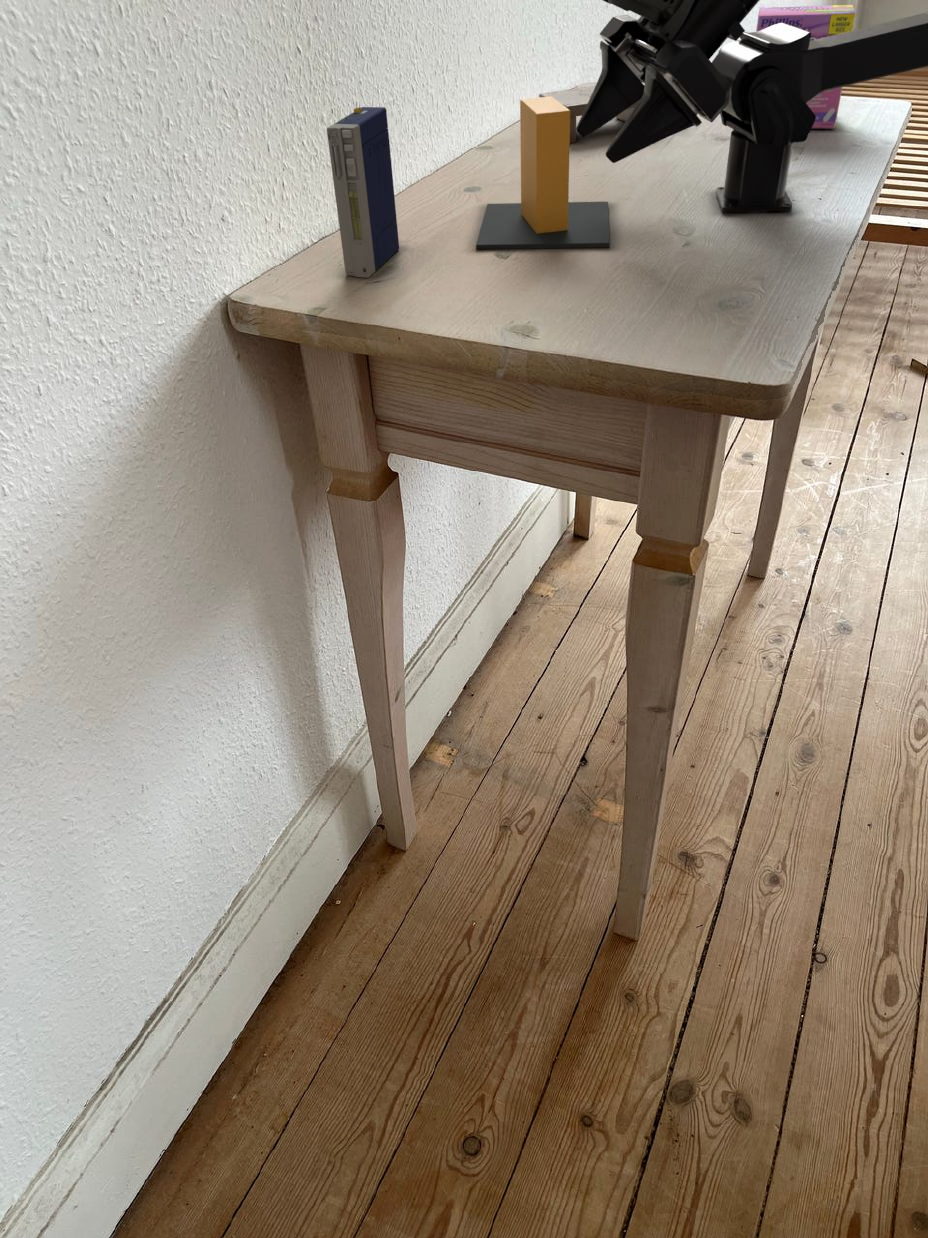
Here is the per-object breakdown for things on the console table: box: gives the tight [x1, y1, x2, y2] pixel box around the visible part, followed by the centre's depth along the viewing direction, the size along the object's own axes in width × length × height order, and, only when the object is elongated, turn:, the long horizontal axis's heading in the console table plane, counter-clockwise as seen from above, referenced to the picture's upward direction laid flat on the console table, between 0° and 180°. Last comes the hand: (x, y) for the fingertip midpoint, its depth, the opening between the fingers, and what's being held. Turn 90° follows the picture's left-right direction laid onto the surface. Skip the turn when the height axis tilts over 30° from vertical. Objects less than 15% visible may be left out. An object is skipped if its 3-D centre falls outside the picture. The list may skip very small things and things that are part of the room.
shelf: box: [538, 85, 640, 144], centre depth 114 cm, size 8×12×4 cm, turn 111°
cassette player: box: [326, 106, 400, 279], centre depth 80 cm, size 7×2×12 cm, turn 162°
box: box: [755, 4, 856, 130], centre depth 109 cm, size 10×6×12 cm, turn 76°
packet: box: [519, 96, 571, 234], centre depth 86 cm, size 3×6×10 cm, turn 11°
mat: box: [475, 201, 610, 250], centre depth 89 cm, size 12×12×1 cm
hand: (593, 146), depth 85 cm, fingers open, 9 cm apart
